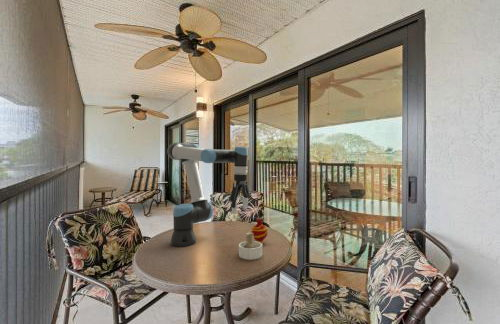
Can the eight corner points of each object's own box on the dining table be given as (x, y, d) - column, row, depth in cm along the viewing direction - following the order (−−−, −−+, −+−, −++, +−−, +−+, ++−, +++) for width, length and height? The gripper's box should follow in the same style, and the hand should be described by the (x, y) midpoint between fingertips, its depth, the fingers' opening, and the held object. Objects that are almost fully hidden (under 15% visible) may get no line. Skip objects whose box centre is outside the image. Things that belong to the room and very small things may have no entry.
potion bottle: (266, 245, 151) (266, 220, 151) (249, 244, 154) (249, 220, 153) (268, 240, 162) (268, 216, 161) (252, 239, 164) (252, 216, 164)
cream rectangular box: (246, 253, 137) (246, 233, 137) (247, 252, 139) (247, 232, 139) (252, 254, 136) (252, 234, 136) (253, 253, 138) (253, 233, 137)
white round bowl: (234, 257, 134) (234, 246, 134) (244, 249, 145) (244, 239, 145) (256, 261, 129) (256, 250, 129) (265, 252, 140) (265, 242, 140)
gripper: (236, 175, 131) (235, 216, 132) (255, 172, 154) (254, 207, 155) (223, 174, 134) (223, 214, 135) (244, 172, 157) (243, 206, 158)
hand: (239, 211), depth 145 cm, fingers open, 13 cm apart
